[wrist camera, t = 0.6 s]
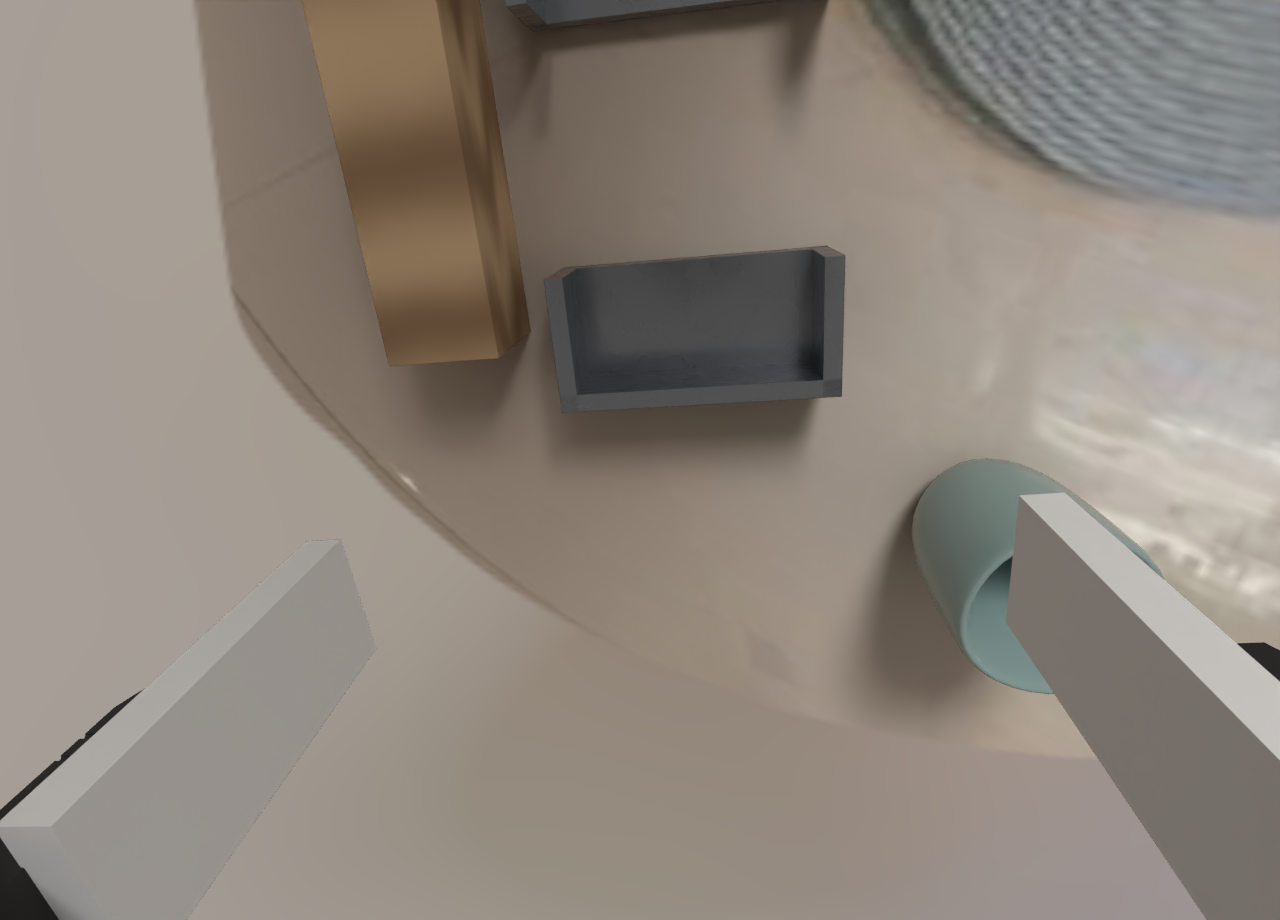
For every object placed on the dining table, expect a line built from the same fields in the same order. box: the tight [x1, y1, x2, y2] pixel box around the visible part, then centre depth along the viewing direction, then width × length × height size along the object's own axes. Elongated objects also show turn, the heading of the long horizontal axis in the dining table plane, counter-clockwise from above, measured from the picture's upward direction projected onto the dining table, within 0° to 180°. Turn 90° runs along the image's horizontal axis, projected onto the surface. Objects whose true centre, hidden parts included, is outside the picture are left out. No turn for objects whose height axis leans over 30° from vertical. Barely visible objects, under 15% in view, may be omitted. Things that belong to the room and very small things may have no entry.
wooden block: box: [302, 0, 531, 366], centre depth 29 cm, size 16×5×6 cm, turn 5°
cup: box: [911, 458, 1164, 694], centre depth 31 cm, size 8×8×10 cm
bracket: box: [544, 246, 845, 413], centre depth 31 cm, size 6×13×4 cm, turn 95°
